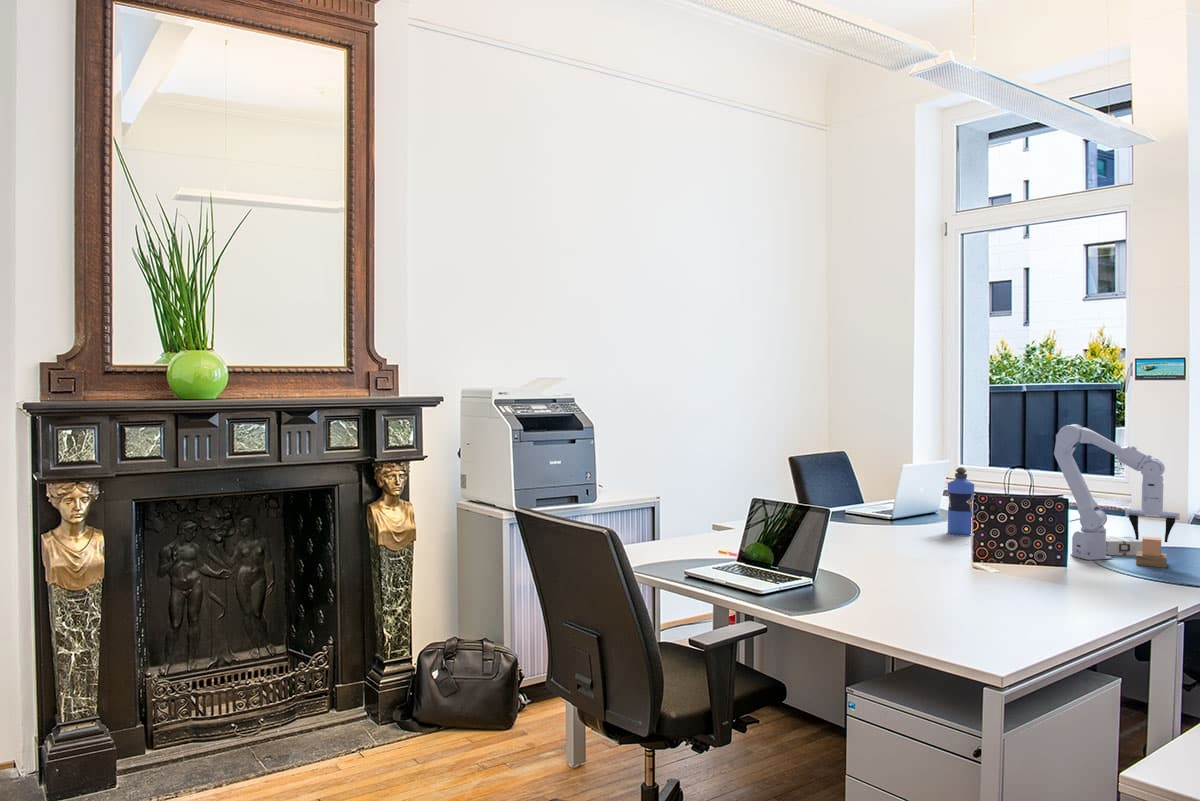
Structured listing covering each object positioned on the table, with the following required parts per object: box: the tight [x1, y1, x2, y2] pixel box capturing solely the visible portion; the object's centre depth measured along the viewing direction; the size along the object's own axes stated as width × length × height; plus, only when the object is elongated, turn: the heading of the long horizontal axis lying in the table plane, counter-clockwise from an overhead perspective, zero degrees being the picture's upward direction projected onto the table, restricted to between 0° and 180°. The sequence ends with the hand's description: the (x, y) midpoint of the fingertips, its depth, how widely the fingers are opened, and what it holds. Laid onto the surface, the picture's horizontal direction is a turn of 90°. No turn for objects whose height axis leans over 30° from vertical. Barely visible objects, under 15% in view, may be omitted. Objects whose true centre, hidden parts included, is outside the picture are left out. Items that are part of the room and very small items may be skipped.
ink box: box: [1106, 536, 1143, 556], centre depth 296 cm, size 9×5×15 cm
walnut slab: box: [1135, 551, 1168, 569], centre depth 278 cm, size 8×8×3 cm
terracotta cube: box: [1142, 536, 1162, 556], centre depth 278 cm, size 5×5×5 cm
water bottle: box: [947, 467, 975, 537], centre depth 333 cm, size 9×9×25 cm
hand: (1151, 540), depth 278 cm, fingers open, 7 cm apart
